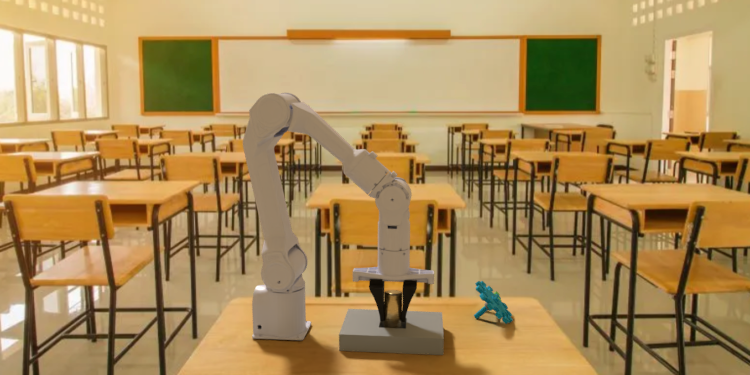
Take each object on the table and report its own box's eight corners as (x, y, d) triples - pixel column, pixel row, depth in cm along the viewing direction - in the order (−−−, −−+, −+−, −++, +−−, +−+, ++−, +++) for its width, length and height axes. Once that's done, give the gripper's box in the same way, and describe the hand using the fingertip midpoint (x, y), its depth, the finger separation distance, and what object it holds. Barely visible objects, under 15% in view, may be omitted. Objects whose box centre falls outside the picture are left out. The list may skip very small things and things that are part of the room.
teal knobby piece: (511, 325, 109) (476, 282, 112) (488, 343, 111) (453, 301, 113) (518, 312, 120) (486, 274, 122) (496, 329, 121) (465, 291, 123)
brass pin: (383, 333, 105) (383, 295, 104) (384, 326, 109) (385, 289, 108) (401, 333, 105) (401, 296, 104) (402, 326, 108) (402, 290, 107)
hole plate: (339, 350, 102) (339, 334, 102) (348, 323, 114) (348, 308, 113) (443, 355, 100) (443, 338, 100) (441, 327, 112) (442, 312, 112)
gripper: (434, 242, 108) (432, 312, 110) (355, 240, 109) (356, 309, 111) (434, 252, 101) (433, 327, 103) (351, 250, 102) (351, 324, 104)
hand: (393, 319), depth 107 cm, fingers closed on brass pin, 3 cm apart
